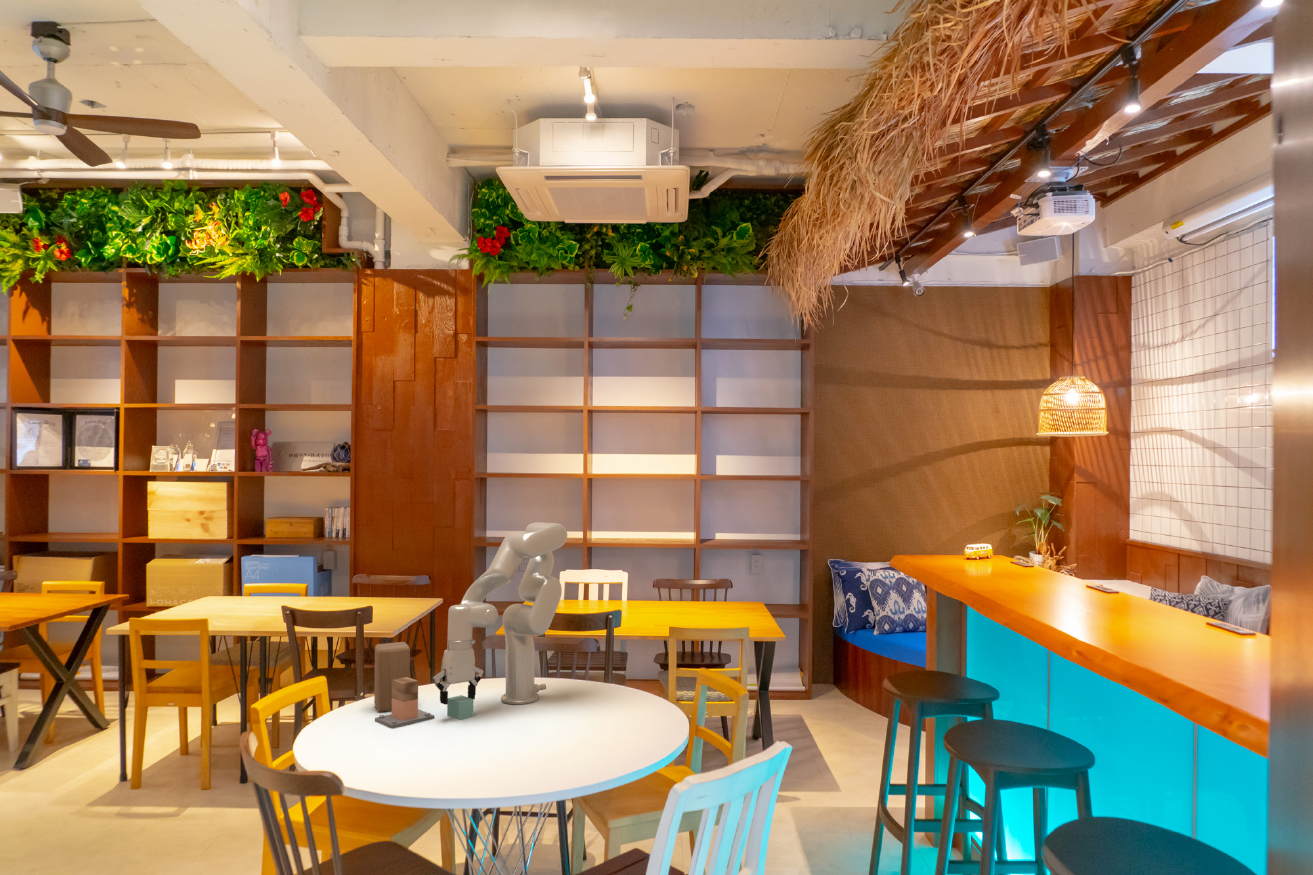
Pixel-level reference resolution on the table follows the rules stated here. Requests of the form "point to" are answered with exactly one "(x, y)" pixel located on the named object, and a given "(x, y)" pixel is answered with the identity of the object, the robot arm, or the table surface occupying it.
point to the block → (389, 671)
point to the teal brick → (460, 707)
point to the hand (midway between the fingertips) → (457, 701)
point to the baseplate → (402, 723)
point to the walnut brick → (404, 689)
